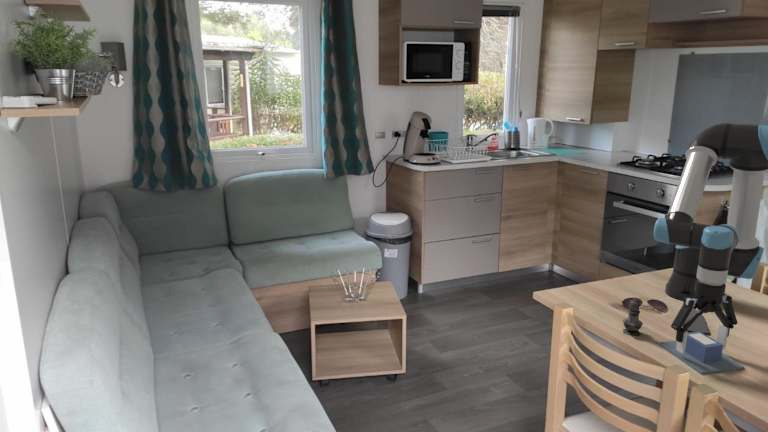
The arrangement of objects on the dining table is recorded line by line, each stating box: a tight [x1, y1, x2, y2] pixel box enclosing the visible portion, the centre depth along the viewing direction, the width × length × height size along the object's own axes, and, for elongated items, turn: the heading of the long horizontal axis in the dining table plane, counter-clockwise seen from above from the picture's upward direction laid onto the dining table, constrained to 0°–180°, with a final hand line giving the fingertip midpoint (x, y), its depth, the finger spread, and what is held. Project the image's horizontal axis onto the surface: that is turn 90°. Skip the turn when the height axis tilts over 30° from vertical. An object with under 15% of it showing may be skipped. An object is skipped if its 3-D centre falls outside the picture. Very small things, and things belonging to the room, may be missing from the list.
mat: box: [658, 340, 745, 375], centre depth 171 cm, size 14×18×1 cm
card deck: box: [685, 331, 724, 363], centre depth 170 cm, size 9×6×5 cm, turn 15°
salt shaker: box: [622, 297, 644, 337], centre depth 185 cm, size 6×6×12 cm
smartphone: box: [685, 314, 711, 336], centre depth 192 cm, size 7×1×15 cm
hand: (700, 349), depth 171 cm, fingers open, 13 cm apart
